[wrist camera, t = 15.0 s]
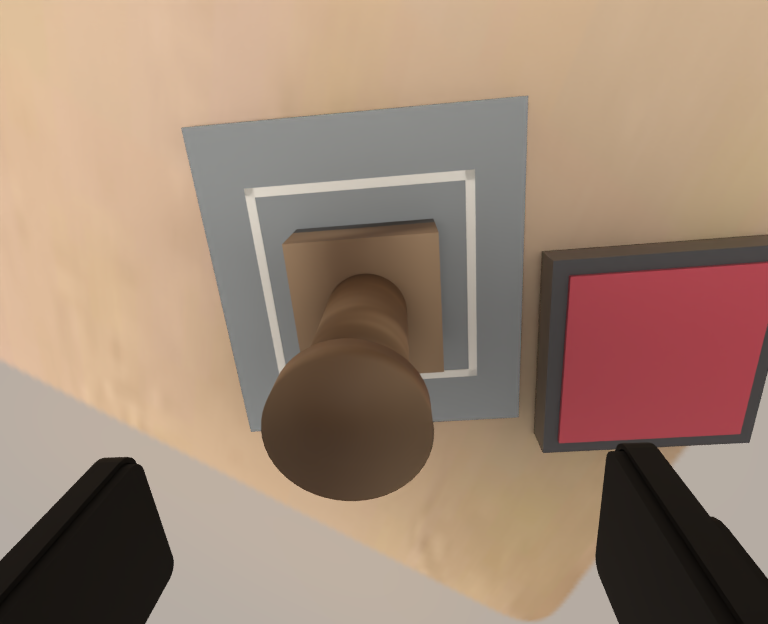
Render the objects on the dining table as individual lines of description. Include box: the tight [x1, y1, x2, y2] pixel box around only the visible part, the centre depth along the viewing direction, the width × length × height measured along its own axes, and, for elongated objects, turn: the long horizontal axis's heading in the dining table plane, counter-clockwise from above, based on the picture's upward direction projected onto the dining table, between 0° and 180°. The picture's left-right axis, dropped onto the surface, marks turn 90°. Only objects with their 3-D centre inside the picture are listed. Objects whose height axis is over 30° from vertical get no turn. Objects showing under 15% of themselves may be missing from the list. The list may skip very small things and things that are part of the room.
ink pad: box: [534, 235, 768, 453], centre depth 22 cm, size 10×10×2 cm
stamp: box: [261, 219, 444, 501], centre depth 16 cm, size 6×6×11 cm
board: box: [181, 96, 528, 432], centre depth 21 cm, size 14×15×1 cm
